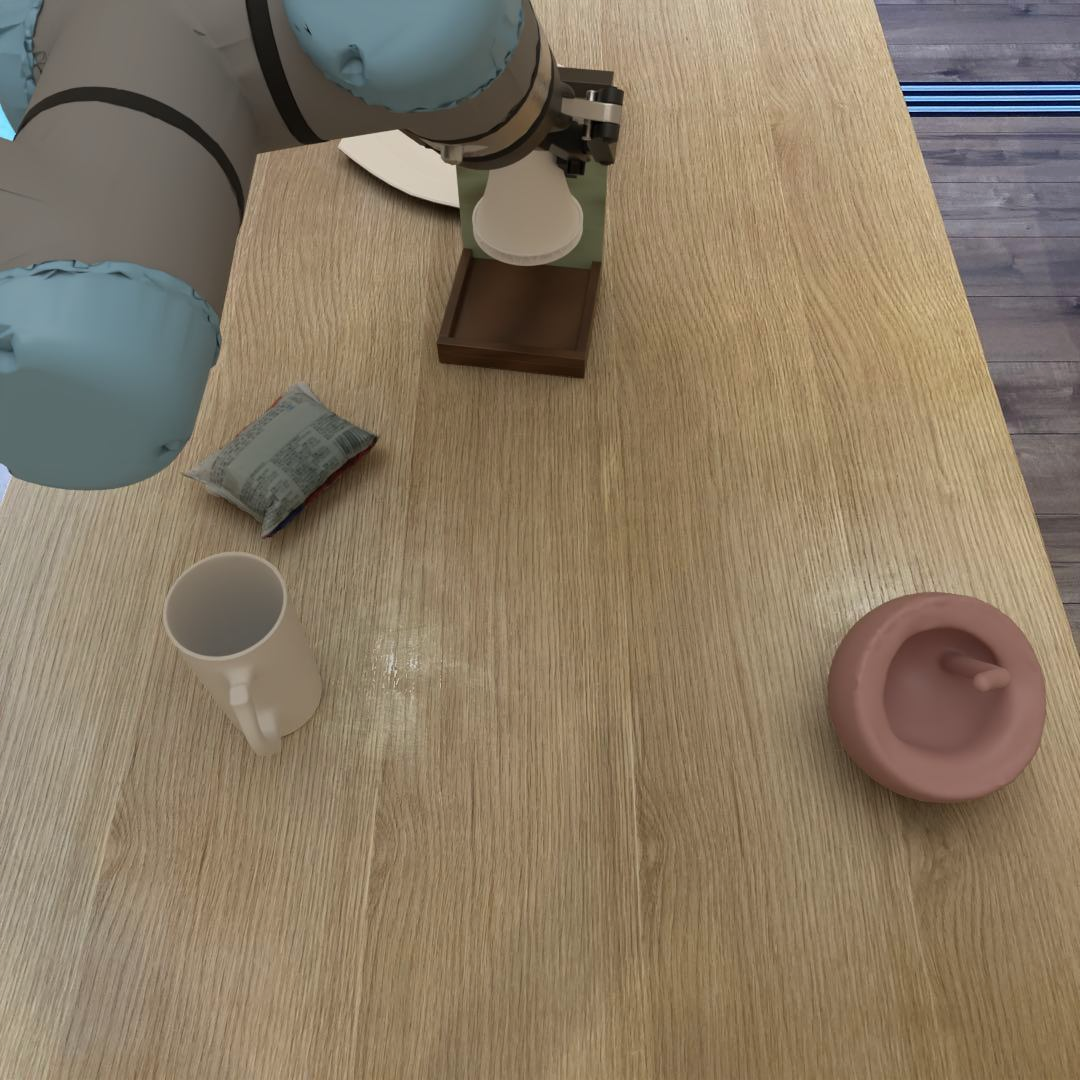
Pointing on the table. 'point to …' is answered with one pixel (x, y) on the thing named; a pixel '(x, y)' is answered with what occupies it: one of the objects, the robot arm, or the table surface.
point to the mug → (245, 645)
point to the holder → (529, 281)
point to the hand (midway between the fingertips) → (534, 153)
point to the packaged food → (284, 459)
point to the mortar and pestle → (938, 697)
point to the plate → (405, 165)
